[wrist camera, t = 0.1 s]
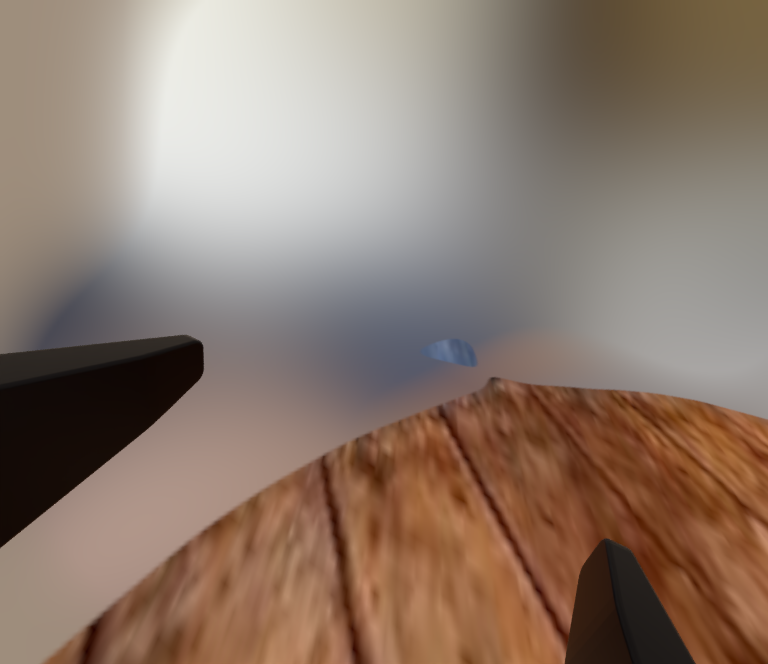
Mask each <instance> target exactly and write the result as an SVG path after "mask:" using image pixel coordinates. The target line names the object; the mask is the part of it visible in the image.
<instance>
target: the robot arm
mask: <svg viewBox="0 0 768 664" xmlns="http://www.w3.org/2000/svg"><path fill="white" fill-rule="evenodd" d="M203 371H204V353H203V344H202V342H201V341H199V340H197V339H195V338H193V337H191V336H188V335H178V336H168V337H159V338H149V339H140V340H130V341H121V342H111V343H103V344H92V345H84V346H74V347H64V348H55V349H45V350H36V351H27V352H17V353H8V354H0V548H1V547H2V546H3V545H5V544H6V543H7V542H8V541H9V540H11V539H12V538H13V537H15V536H16V535H17V534H18V533H20V532H21V531H22V530H23V529H24V528H26V527H27V526H28V525H29V524H31V523H32V522H33V521H34V520H36V519H37V518H38V517H39V516H40V515H42V514H43V513H44V512H46V510H48V509H49V508H50V507H52V506H53V505H54V504H55V503H57V502H58V501H59V500H60V499H62V498H63V497H64V496H65V495H67V494H68V493H69V492H70V491H72V490H73V489H74V488H75V487H76V486H77V485H79V484H80V483H81V482H83V481H84V480H85V479H86V478H88V477H89V476H90V475H91V474H93V473H94V472H95V471H96V470H98V469H99V468H100V467H101V466H102V465H104V464H105V463H106V462H107V461H109V460H110V459H111V458H112V457H114V456H115V455H116V454H117V453H119V452H120V451H121V450H122V449H124V448H125V447H126V446H127V445H128V444H130V443H131V442H132V441H134V440H135V439H136V438H137V437H139V436H140V435H141V434H142V433H143V432H145V431H146V430H147V429H148V428H149V427H150V426H152V425H153V424H154V423H155V422H156V421H157V420H158V419H159V418H160V417H161V416H162V415H163V414H164V413H166V412H167V411H168V410H169V409H170V408H171V407H172V406H173V405H174V404H175V403H176V402H177V401H178V400H179V399H180V398H181V397H182V396H183V395H184V394H185V393H186V392H187V391H188V390H189V389H190V388H191V387H192V386H193V385H194V384H195V383H196V382H198V380H199V379H200V378H201V376H202V374H203ZM565 664H696V663H695V662H694V660H693V658H692V656H691V655H690V653H689V651H688V649H687V648H686V646H685V644H684V642H683V640H682V639H681V637H680V635H679V633H678V632H677V630H676V628H675V626H674V625H673V623H672V621H671V619H670V618H669V616H668V614H667V612H666V610H665V609H664V607H663V605H662V603H661V602H660V600H659V598H658V596H657V595H656V593H655V591H654V589H653V587H652V586H651V584H650V582H649V580H648V579H647V577H646V575H645V573H644V572H643V570H642V568H641V566H640V564H639V563H638V561H637V559H636V557H635V556H634V554H633V553H632V551H631V550H630V549H628V548H627V547H625V546H623V545H621V544H619V543H616V542H614V541H612V540H610V539H603V540H602V541H600V543H599V544H598V545H597V547H596V548H595V549H594V551H593V552H592V554H591V555H590V556H589V558H588V559H587V560H586V562H585V563H584V565H583V567H582V569H581V571H580V575H579V579H578V585H577V591H576V597H575V603H574V609H573V615H572V621H571V627H570V633H569V639H568V645H567V651H566V658H565Z"/></svg>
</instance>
